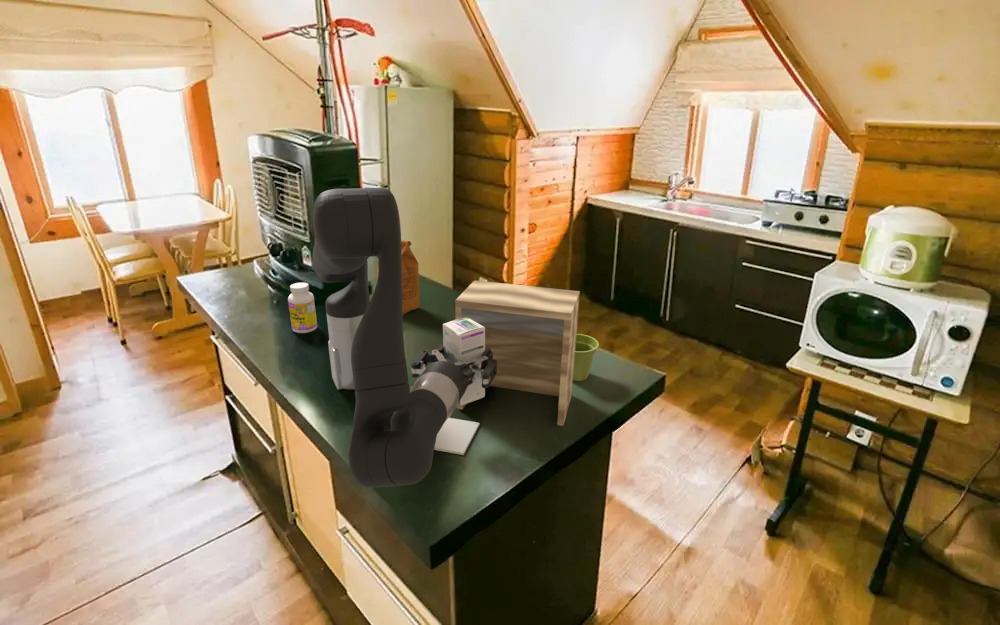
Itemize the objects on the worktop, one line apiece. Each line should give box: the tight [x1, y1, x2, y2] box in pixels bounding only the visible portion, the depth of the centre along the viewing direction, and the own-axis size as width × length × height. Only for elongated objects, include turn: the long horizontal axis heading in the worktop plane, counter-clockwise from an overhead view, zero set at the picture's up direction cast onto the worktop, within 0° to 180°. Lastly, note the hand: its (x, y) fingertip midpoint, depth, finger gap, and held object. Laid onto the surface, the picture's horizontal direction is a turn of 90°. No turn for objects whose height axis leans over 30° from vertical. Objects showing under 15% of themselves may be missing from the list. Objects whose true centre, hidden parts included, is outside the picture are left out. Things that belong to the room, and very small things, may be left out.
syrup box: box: [442, 317, 486, 405], centre depth 98 cm, size 6×6×14 cm
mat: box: [434, 417, 480, 456], centre depth 104 cm, size 10×10×1 cm
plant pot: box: [573, 333, 600, 382], centre depth 125 cm, size 9×9×9 cm
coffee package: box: [376, 240, 421, 316], centre depth 159 cm, size 10×12×22 cm
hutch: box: [454, 280, 581, 427], centre depth 111 cm, size 12×22×24 cm, turn 75°
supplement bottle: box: [287, 282, 318, 334], centre depth 146 cm, size 7×7×13 cm
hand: (467, 349), depth 99 cm, fingers closed on syrup box, 7 cm apart
